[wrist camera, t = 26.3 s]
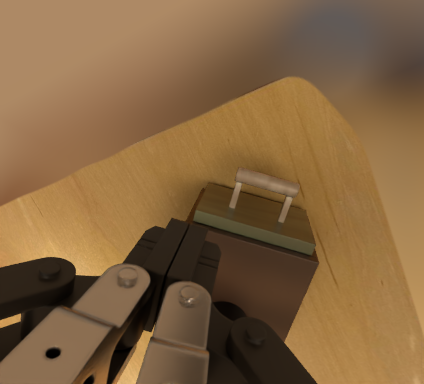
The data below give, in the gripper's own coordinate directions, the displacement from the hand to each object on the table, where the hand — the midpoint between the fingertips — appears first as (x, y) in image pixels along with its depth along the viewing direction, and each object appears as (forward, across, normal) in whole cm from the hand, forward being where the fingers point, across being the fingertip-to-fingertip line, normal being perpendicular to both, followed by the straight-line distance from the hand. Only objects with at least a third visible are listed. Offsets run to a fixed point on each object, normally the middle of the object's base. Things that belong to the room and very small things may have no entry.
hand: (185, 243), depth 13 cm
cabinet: (+25, -4, +14) cm, 29 cm away
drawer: (+24, -4, +10) cm, 27 cm away
